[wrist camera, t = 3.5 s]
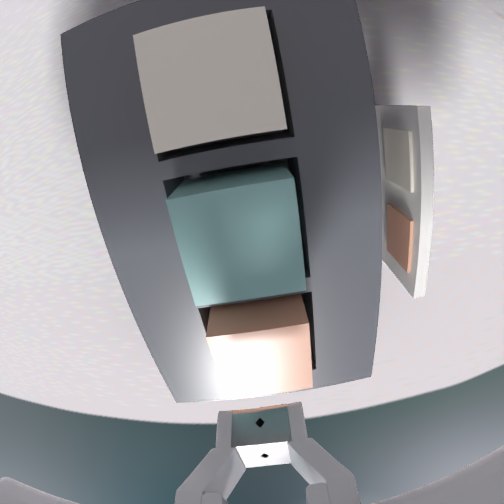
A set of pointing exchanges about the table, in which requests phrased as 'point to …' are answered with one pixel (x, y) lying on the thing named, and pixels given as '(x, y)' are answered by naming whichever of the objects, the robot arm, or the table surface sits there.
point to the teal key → (239, 234)
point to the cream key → (209, 79)
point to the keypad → (254, 155)
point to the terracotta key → (261, 346)
